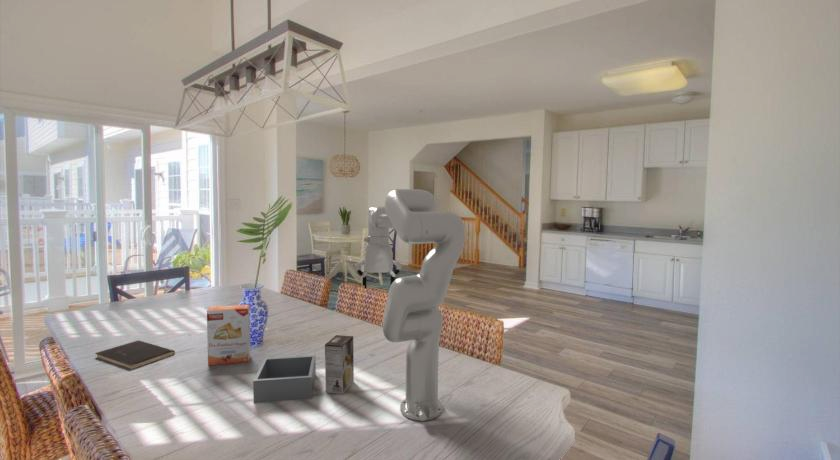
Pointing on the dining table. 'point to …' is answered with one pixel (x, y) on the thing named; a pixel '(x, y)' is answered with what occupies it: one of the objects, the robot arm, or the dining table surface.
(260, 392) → the bin
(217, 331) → the cracker box
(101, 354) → the hardcover book
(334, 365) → the coffee box
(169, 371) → the dining table surface
